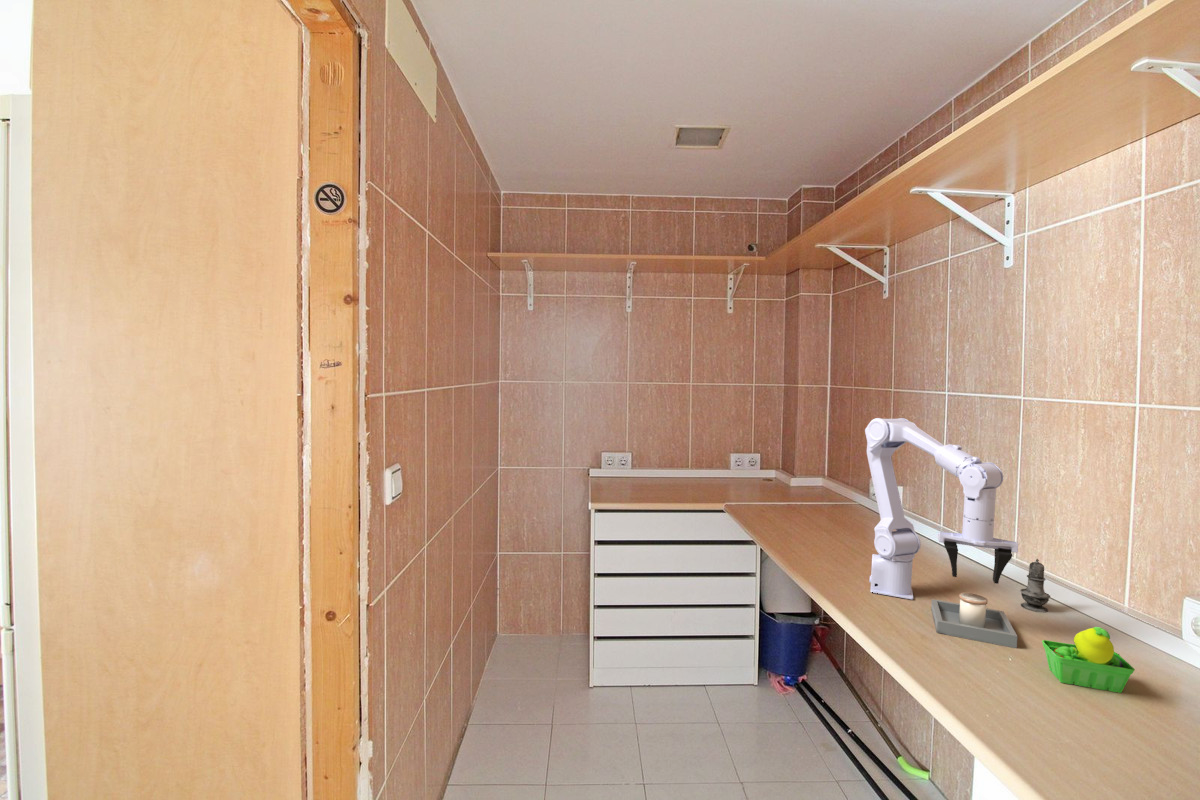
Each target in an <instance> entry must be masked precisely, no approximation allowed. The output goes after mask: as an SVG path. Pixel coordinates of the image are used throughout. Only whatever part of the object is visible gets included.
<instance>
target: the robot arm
mask: <svg viewBox="0 0 1200 800" xmlns="http://www.w3.org/2000/svg"><path fill="white" fill-rule="evenodd" d="M864 433H865V437H866V458H867V462H868V467H869V471H870V475H871V480H872V484H873V489H874V490H873V491H874V495H875V498H876V502H877V503H876V504H877V508H878V513H879V518H880V521H878V523H877V524H876V525H875V526H874V528H873V529H874V530H873V531H874V541H873V542H874V549H875V551H876V552H877V553H878V554H875V553H872V555H871V570H870V571H871V573H870V574H871V575H869V580H868V582H869V583H870V593H872V592H873V594H877V593H878V595H885V596H890V597H894V598H895V597H897V598H901V599H906V600H914V595H913V588H912V579H913V577H912V576H913V560H914V559H915V555H916V554H917V553H919V552H920V550H921V539H920V537H919V535H918V534H917V533H916V531H915V527H914V524H913V523H911V521H909V520H908V519H907V518H906V517H905V514H904V509H903V505H902V500H901V495H900V492H899V487H898V482H897V478H896V474H895V469H894V465H893V460H892V456H893V455H894V453H895V452H896V451H897V450H898V449H900V448H901V447H902V446H903V445H905V444H906V443H909V444H910V445H913V446H914V447H916V448H918V449H920V450H922V451H923V452H925V453H927V454H928V455H931V456H932V457H934V460H935V464H936V465H937V466H939V467H940V468H942V469H943V470H945V471H947V472H948V473H950V474H951V475H953V476H954V477H956V478H958V480H959V482H960V485H961V486H962V488H963V491H962V494H964V497H963V512H962V514H963V515H962V528H961V532H959V533H957V532H945V531H944V532H943V531H938V536H937V537H938V538H937V541H938V543H943V545H944V548H945V550H946V552H947V555H948V558H949V562H950V567H951V576H952V577H953V578H957V577H958V565H957V564H958V556H959V555H958V554H959V549H958V545H963V546H970V547H976V548H977V547H978V548H986V549H990V550H991V549H992V550H993V549H994V566H993V572H992V581H993V583H994V584H997V585H999V582H1000V578H1001V575H1002V573H1003V571H1004V570H1005V568H1006V566H1007V564H1008V563H1009V562H1010V561H1011V559H1012V557H1013V553H1015V554H1018V552H1019V543H1018V542H1017V541H1015V540H1014V541H1013V540H1007V539H1001V538H997V537H994V529H995V514H996V513H995V511H996V498H997V488H1000V486H1001V485H1002V484H1003V481H1004V474H1003V471H1002V470H1001V469H1000V467H998V466H997V465H996V464H995V462H991V461H989V462H988V461H987V462H986V461H985V462H982V461H981V458H980V457H979V456H973V455H971V454H970V453H968V452H967V451H965V450H963V446H961V445H960V444H952V443H950V444H943V443H941V442H940V441H938V440H937V439H935V438H934V437H933V436H931V435H930V434H929V433H927V432H925V431H924V430H922V429H921V428H920V427H918V426H917V425H916V423H915V422H912V421H910V420H908V419H906V418H904V417H900V418H881V417H876V418H873V419H872V420H871V421H870V422H869V423H868V424H867V426H866V427H865V429H864ZM894 530H895V531H894Z"/></svg>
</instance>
